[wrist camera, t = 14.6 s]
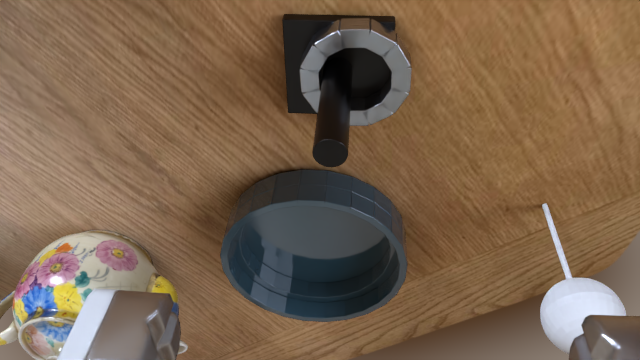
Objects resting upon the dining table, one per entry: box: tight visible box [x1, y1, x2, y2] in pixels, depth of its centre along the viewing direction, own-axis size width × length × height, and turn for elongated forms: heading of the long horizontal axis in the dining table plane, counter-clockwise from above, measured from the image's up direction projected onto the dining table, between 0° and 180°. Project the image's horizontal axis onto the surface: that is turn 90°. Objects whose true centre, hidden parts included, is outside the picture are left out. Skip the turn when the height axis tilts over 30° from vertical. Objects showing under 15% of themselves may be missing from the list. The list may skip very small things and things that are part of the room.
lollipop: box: [540, 204, 626, 354], centre depth 45 cm, size 6×6×15 cm
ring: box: [300, 18, 412, 126], centre depth 41 cm, size 8×8×2 cm
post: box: [282, 14, 395, 167], centre depth 38 cm, size 8×8×11 cm
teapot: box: [0, 230, 188, 360], centre depth 55 cm, size 20×14×13 cm
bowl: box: [220, 170, 407, 322], centre depth 53 cm, size 17×17×4 cm
